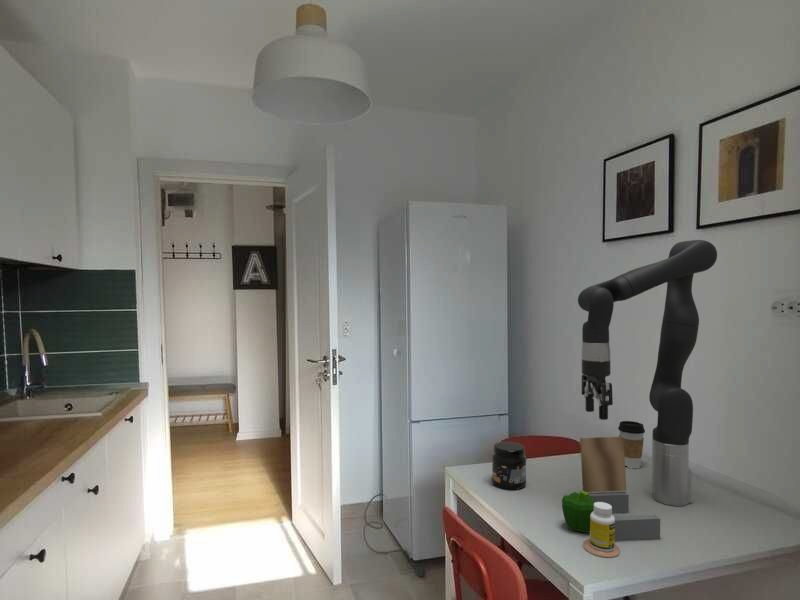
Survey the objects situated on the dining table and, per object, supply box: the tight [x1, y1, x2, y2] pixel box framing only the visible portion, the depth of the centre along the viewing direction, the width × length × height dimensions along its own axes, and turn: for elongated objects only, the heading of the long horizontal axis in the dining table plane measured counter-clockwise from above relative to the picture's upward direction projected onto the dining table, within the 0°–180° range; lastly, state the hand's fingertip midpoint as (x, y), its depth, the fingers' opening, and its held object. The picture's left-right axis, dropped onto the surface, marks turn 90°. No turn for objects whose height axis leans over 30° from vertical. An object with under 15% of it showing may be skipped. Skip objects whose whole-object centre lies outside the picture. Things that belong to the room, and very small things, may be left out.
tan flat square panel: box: [579, 436, 628, 493], centre depth 134 cm, size 12×14×1 cm
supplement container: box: [491, 441, 527, 491], centre depth 152 cm, size 10×10×12 cm
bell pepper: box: [561, 490, 596, 533], centre depth 124 cm, size 8×8×10 cm
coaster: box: [582, 538, 621, 559], centre depth 114 cm, size 8×8×1 cm
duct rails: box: [587, 491, 661, 542], centre depth 126 cm, size 12×16×5 cm
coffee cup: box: [617, 420, 646, 469], centre depth 168 cm, size 8×8×15 cm
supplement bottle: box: [589, 502, 616, 552], centre depth 114 cm, size 5×5×10 cm
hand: (596, 415), depth 137 cm, fingers open, 8 cm apart
